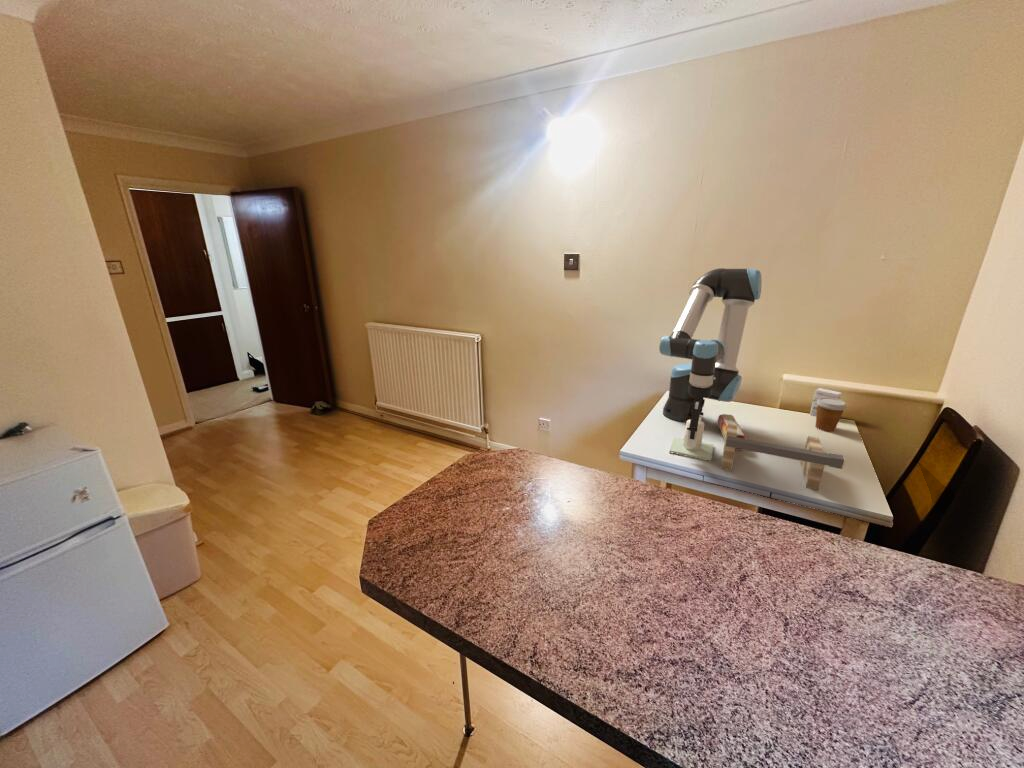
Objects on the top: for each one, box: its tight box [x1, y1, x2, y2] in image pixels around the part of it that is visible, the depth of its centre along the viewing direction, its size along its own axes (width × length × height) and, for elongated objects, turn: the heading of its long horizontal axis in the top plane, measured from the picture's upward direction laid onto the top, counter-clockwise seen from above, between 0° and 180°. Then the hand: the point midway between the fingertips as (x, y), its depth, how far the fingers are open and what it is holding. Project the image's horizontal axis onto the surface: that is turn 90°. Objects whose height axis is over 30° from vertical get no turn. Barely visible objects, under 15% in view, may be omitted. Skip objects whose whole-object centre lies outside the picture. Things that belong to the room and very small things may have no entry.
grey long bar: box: [726, 436, 845, 470], centre depth 123 cm, size 3×30×3 cm, turn 61°
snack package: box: [717, 413, 747, 451], centre depth 157 cm, size 21×7×7 cm, turn 163°
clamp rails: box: [721, 423, 826, 491], centre depth 136 cm, size 16×27×11 cm, turn 61°
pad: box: [669, 436, 715, 462], centre depth 150 cm, size 12×14×1 cm
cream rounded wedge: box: [683, 419, 705, 451], centre depth 148 cm, size 6×6×10 cm
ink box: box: [809, 387, 843, 417], centre depth 173 cm, size 9×5×12 cm, turn 38°
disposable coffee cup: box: [815, 397, 847, 432], centre depth 162 cm, size 10×10×12 cm
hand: (693, 438), depth 149 cm, fingers open, 13 cm apart
